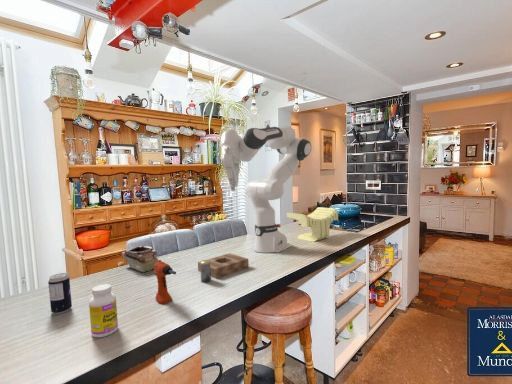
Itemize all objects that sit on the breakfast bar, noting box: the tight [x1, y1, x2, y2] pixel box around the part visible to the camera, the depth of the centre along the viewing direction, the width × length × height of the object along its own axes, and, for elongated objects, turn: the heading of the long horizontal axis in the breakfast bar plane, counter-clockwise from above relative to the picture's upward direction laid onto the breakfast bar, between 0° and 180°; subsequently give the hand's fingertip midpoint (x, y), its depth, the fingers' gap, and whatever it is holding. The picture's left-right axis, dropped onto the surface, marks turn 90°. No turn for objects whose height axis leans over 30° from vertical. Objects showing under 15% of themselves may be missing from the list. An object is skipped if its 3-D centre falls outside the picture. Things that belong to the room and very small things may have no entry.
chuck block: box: [197, 252, 250, 279], centre depth 127 cm, size 18×14×4 cm
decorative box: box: [121, 245, 159, 273], centre depth 133 cm, size 13×20×10 cm, turn 45°
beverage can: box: [47, 272, 73, 315], centre depth 92 cm, size 6×6×12 cm
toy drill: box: [153, 259, 177, 305], centre depth 94 cm, size 5×18×14 cm, turn 38°
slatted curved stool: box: [286, 206, 339, 242], centre depth 176 cm, size 30×16×18 cm, turn 129°
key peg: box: [199, 259, 212, 284], centre depth 113 cm, size 4×4×8 cm
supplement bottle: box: [88, 283, 119, 338], centre depth 78 cm, size 7×7×13 cm
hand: (231, 184), depth 121 cm, fingers open, 8 cm apart
